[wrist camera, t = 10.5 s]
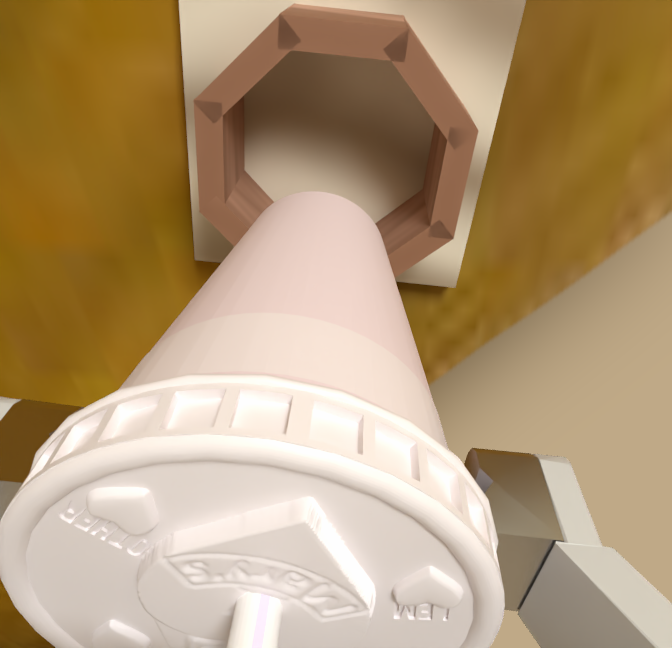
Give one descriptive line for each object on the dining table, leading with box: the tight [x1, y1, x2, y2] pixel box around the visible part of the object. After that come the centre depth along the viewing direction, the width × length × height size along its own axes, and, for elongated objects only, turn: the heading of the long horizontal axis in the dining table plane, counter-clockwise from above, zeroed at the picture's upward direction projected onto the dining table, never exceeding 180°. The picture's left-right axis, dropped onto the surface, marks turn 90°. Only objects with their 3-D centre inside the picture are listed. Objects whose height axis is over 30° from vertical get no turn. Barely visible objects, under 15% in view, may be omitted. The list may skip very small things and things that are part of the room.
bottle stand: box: [179, 0, 526, 288], centre depth 23 cm, size 13×13×5 cm
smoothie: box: [0, 191, 505, 648], centre depth 9 cm, size 6×6×14 cm
